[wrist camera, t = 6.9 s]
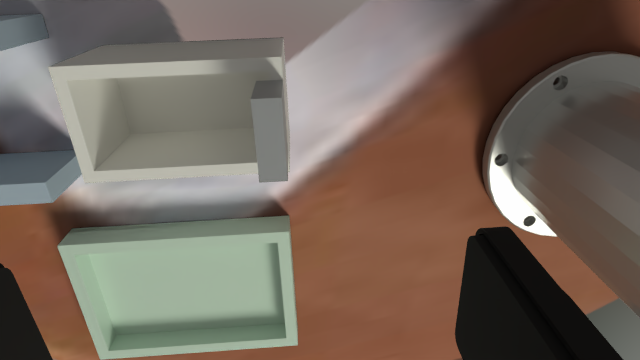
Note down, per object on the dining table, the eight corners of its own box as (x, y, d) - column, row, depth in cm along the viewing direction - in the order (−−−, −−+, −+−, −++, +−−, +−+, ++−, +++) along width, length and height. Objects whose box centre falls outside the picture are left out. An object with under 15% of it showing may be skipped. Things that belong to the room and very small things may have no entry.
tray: (289, 215, 29) (289, 231, 27) (297, 325, 33) (297, 345, 32) (72, 228, 28) (57, 245, 26) (110, 338, 33) (100, 359, 31)
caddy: (283, 37, 24) (279, 71, 16) (289, 130, 26) (289, 201, 18) (103, 44, 23) (5, 83, 15) (127, 139, 26) (54, 215, 18)
